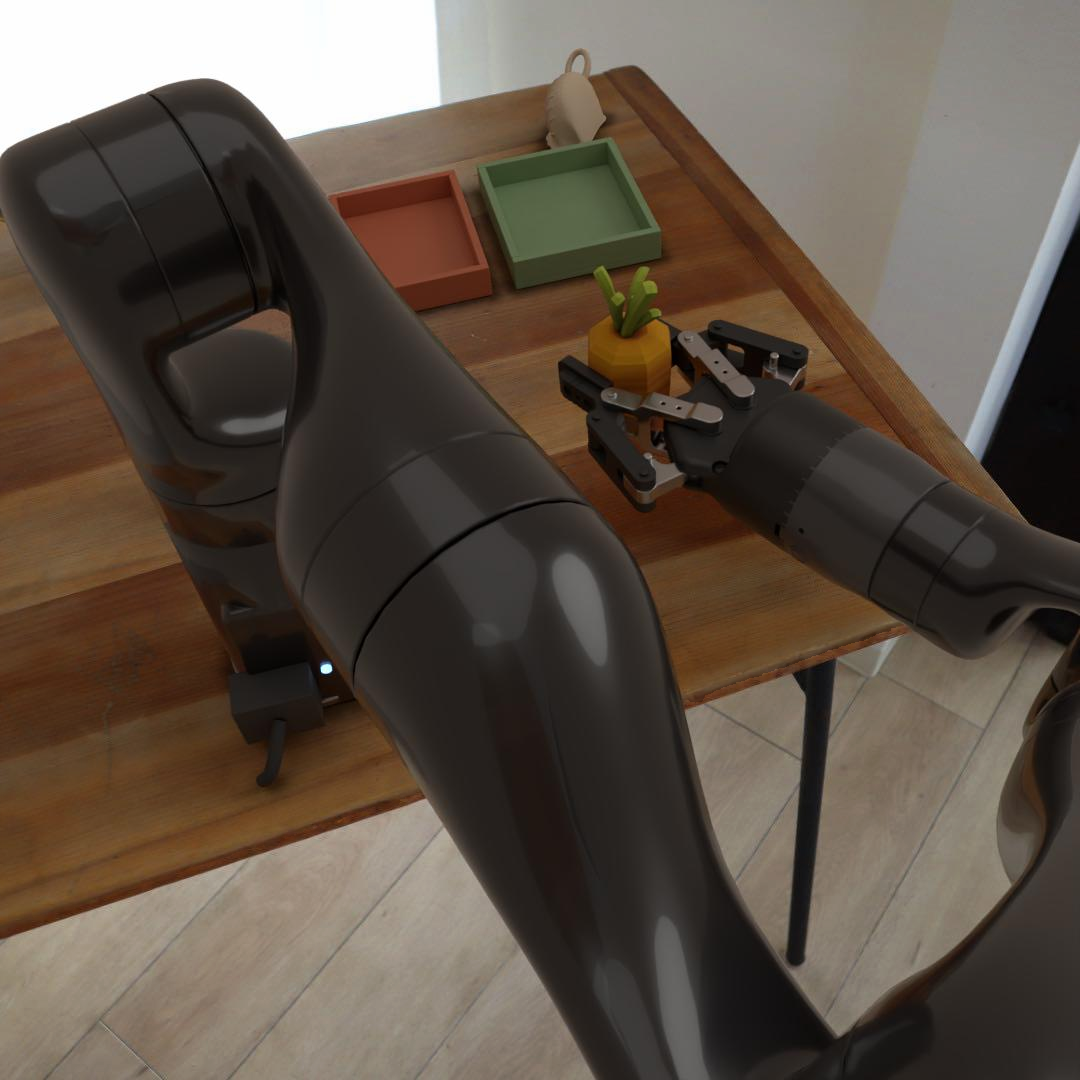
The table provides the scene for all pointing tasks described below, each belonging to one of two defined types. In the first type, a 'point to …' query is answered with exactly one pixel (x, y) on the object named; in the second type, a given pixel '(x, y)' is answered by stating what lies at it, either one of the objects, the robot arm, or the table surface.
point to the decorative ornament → (572, 106)
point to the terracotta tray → (420, 238)
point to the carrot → (631, 340)
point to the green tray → (567, 212)
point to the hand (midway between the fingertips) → (595, 347)
